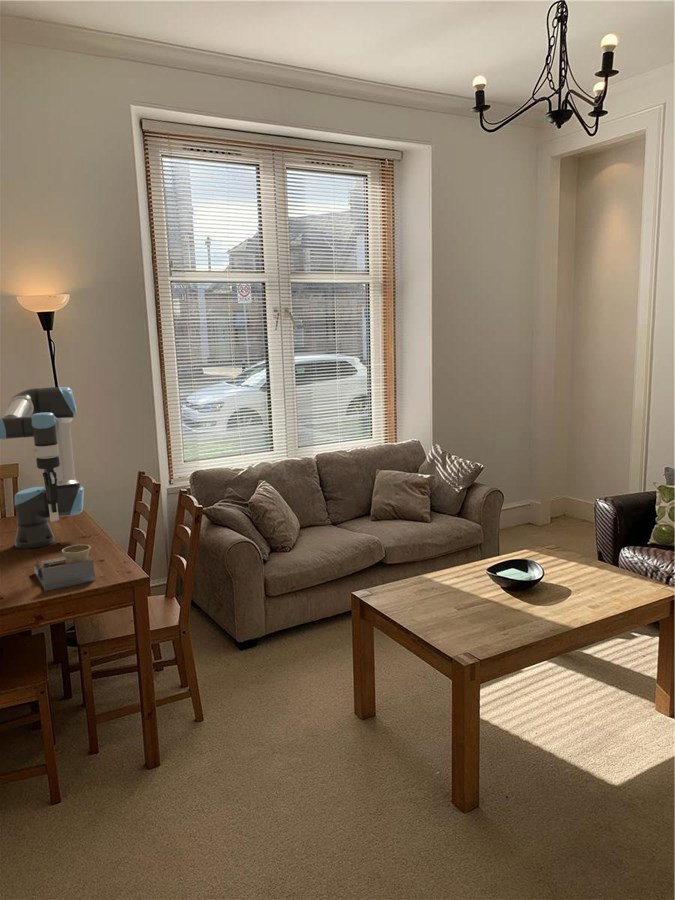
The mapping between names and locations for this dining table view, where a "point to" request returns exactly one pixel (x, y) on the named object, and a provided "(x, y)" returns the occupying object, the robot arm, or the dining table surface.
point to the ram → (53, 562)
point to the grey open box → (65, 574)
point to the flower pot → (76, 553)
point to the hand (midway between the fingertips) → (54, 520)
